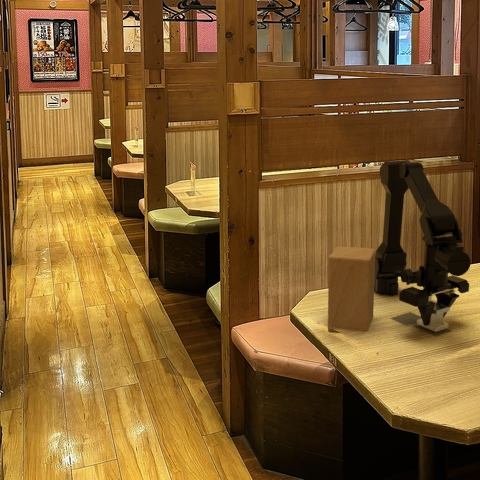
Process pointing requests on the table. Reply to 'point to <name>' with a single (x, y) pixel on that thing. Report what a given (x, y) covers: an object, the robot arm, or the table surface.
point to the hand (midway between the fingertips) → (432, 323)
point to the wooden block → (351, 288)
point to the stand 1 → (407, 318)
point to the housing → (436, 318)
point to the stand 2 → (432, 331)
